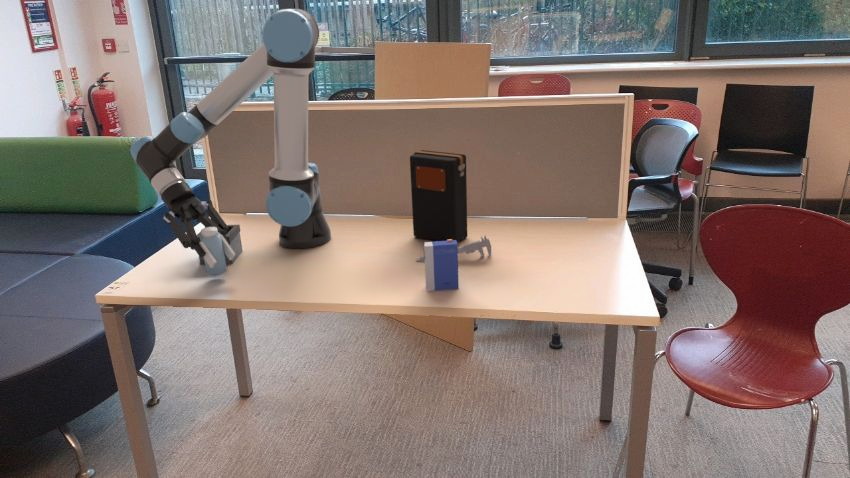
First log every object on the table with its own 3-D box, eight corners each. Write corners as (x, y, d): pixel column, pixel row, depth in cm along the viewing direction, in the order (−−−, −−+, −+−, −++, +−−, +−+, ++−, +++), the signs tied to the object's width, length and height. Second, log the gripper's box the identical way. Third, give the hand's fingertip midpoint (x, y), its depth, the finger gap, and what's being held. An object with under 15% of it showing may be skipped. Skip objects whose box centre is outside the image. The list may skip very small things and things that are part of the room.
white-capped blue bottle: (229, 267, 165) (222, 225, 160) (223, 275, 160) (215, 232, 156) (211, 268, 165) (202, 226, 161) (203, 276, 160) (195, 233, 156)
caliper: (490, 256, 171) (490, 234, 169) (491, 257, 170) (491, 236, 168) (415, 261, 170) (414, 239, 167) (415, 262, 169) (414, 241, 166)
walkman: (456, 284, 155) (455, 238, 150) (458, 289, 152) (457, 242, 148) (425, 286, 154) (423, 240, 150) (426, 291, 151) (424, 245, 147)
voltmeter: (470, 237, 184) (469, 153, 175) (455, 247, 177) (453, 160, 168) (425, 228, 192) (421, 148, 183) (409, 238, 185) (405, 154, 176)
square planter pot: (243, 250, 181) (239, 224, 178) (233, 263, 172) (228, 236, 169) (211, 251, 181) (206, 225, 179) (199, 264, 173) (194, 237, 170)
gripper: (199, 189, 172) (247, 256, 168) (137, 207, 158) (188, 281, 155) (207, 172, 167) (257, 241, 163) (144, 190, 153) (196, 266, 150)
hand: (223, 260), depth 159 cm, fingers closed on white-capped blue bottle, 5 cm apart
